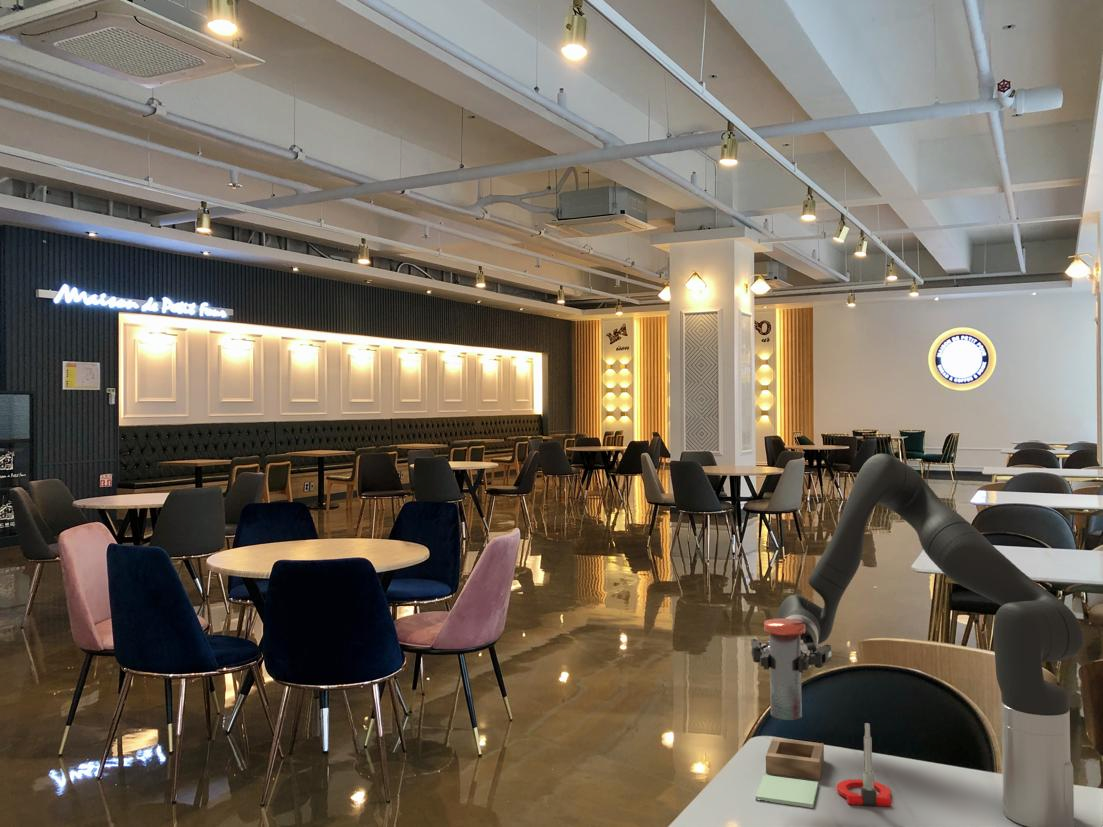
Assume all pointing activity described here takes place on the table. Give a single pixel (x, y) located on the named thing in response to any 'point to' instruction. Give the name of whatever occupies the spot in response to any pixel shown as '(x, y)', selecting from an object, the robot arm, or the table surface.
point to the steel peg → (785, 667)
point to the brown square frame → (795, 758)
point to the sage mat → (787, 791)
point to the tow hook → (866, 782)
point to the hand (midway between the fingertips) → (783, 664)
